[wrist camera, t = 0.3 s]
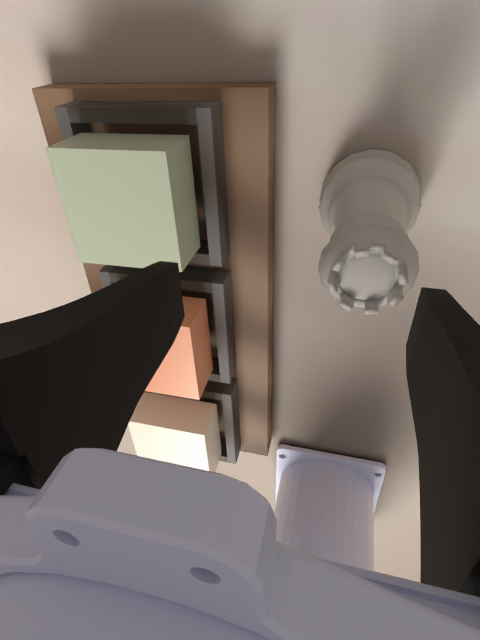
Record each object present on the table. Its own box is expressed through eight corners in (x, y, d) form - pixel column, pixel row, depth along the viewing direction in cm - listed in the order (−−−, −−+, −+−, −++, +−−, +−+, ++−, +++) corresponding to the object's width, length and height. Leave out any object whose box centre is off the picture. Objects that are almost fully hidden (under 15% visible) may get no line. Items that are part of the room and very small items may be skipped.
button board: (271, 439, 32) (263, 473, 30) (139, 415, 34) (122, 445, 32) (275, 82, 18) (261, 93, 15) (51, 83, 20) (9, 94, 18)
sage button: (200, 246, 20) (182, 272, 18) (106, 238, 21) (79, 262, 19) (189, 134, 17) (165, 151, 15) (80, 132, 18) (45, 147, 16)
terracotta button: (212, 369, 25) (199, 400, 23) (135, 357, 26) (116, 386, 24) (205, 298, 22) (189, 327, 20) (119, 288, 23) (95, 315, 21)
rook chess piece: (301, 196, 20) (270, 279, 14) (374, 123, 18) (375, 185, 12) (364, 256, 21) (360, 357, 15) (441, 194, 19) (475, 287, 13)
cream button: (221, 452, 29) (210, 484, 28) (155, 439, 31) (141, 469, 29) (216, 404, 27) (204, 435, 25) (144, 391, 28) (127, 420, 26)
